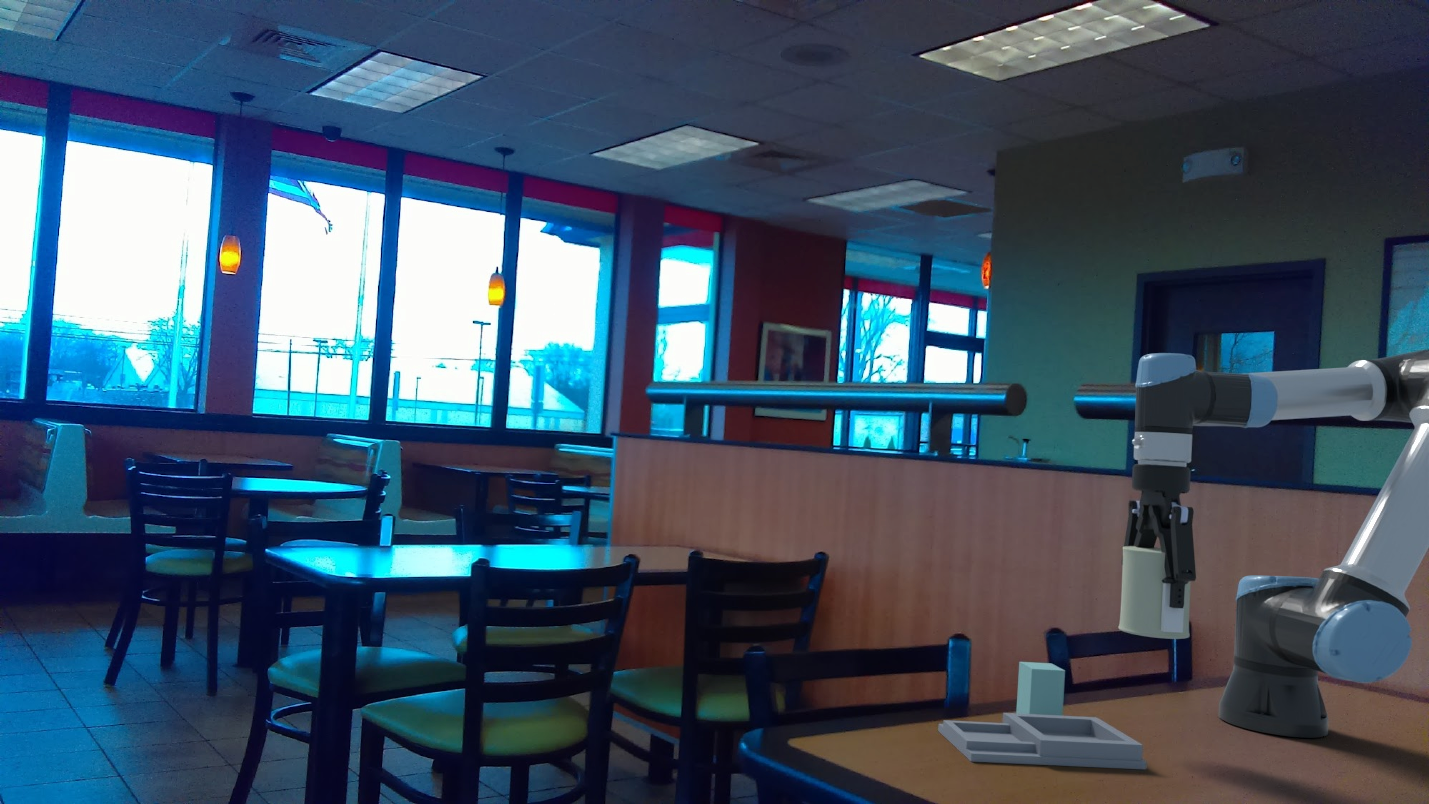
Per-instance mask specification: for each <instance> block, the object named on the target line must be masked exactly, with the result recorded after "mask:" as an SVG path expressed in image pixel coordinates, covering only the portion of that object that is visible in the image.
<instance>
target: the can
mask: <svg viewBox="0 0 1429 804" xmlns="http://www.w3.org/2000/svg"><path fill="white" fill-rule="evenodd" d="M1122 556H1123V566H1122V574H1121V596H1120V598H1121V599H1120V614H1119V624H1118V629H1119V631H1122V632H1123V633H1128V634H1131V635H1137V636H1142V637H1149V638H1157V639H1170V640H1173V639H1174V640H1180V639H1188V638H1190V637H1191V636H1190V635H1191V634H1190V604H1191V600H1190V599H1191V584H1192V583H1191V582H1192V581H1189V582H1188V584H1185V594H1184V615H1183V633H1180V632H1163V631H1161V615H1162V592H1163V582H1162V580H1163V579H1164V578H1165V577H1166V572H1165V567H1164V563H1165V553H1162V552H1161V547H1156V546H1154V548H1138V547H1135V546H1125V547H1124V546H1122ZM1187 572H1188V570H1187Z"/></svg>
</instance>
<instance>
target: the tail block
mask: <svg viewBox="0 0 1429 804" xmlns="http://www.w3.org/2000/svg"><path fill="white" fill-rule="evenodd" d="M1017 677H1018V678H1017V680H1018V681H1017V692H1016V693H1017V694H1016V695H1017V697H1016V698H1017V699H1016V709H1015V710H1016V711H1015V713H1019V714H1039V715H1059V716H1064V713H1063V711H1064V699H1065V697H1064V695H1065V694H1064V693H1065V681H1066V680H1065V678H1066V670H1065V669H1063V668H1061V667H1059V666H1057V665H1055V664H1053V663H1049V662H1032V661H1031V662H1030V661H1019V662H1018V676H1017Z"/></svg>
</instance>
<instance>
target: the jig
mask: <svg viewBox="0 0 1429 804" xmlns="http://www.w3.org/2000/svg"><path fill="white" fill-rule="evenodd" d="M942 721H943V723H938V725H937V726H938V727H937V730H938V731H937V732H939V734H941V735H942V736H943V737H944V738H945V739H946V740H947V741H949V743H950V744H952V745H953V746H954V747H955V748H956V749H957V750H958V752H960V753H961V754H962V755H963V756H964V757H966V758H967V759H968V760H969V762H975V763H996V764H997V763H999V764H1016V765H1017V764H1018V765H1019V764H1021V765H1037V766H1038V765H1039V766H1040V765H1043V766H1064V767H1065V766H1066V767H1087V768H1105V769H1106V768H1108V769H1124V770H1125V769H1129V770H1131V769H1132V770H1147V766H1148V765H1147V762H1148V761H1147V760H1145V759H1144V758H1143V752H1144V751H1143V749H1144V744H1142V743H1140V742H1139V741H1137V740H1135V739H1134V738H1132V737H1130V736H1128V735H1126V734H1125V733H1123V732H1122V731H1120V730H1118V729H1117V728H1115V727H1114V726H1112V725H1110V724H1108V723H1107V722H1105V721H1103V720H1102V719H1100V718H1098V717H1095V716H1094V717H1093V716H1077V715H1062V716H1059V715H1039V714H1019V713H1016V712H1015V713H1014V712H1013V713H1012V712H1002V722H987V721H986V722H984V721H969V720H968V721H967V720H947V719H944V720H942Z"/></svg>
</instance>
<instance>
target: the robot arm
mask: <svg viewBox="0 0 1429 804" xmlns="http://www.w3.org/2000/svg"><path fill="white" fill-rule="evenodd" d="M1196 365H1197V363H1196V359H1195V357H1194V356H1192V355H1191V354H1185V353H1175V352H1173V353H1171V352H1168V353H1167V352H1158V353H1149V354H1148V353H1147V354H1145V355H1143V356H1141V357H1140V359H1139V361H1138V365H1137V366H1138V367H1137V373H1136V380H1135V413H1134V414H1135V417H1134V438H1133V439H1132V440H1131V444H1132V445H1133V459H1134V460H1136V461H1137V463H1136V464H1134V465H1133V466H1132V476H1131V487H1132V489H1133V490H1135V491H1140V492H1141V495H1140V499H1139V500H1131V499H1130V500H1129V501H1128V506H1127V507H1128V518H1127V523H1126V530H1125V537H1124V545H1123V547H1125V546H1135V547H1138V548H1154V547H1156V546H1155V545H1156V542H1157V540H1158V541H1159V545H1160V548H1161V552H1162V553H1165V563H1164V567H1165V572H1166V577H1165V578H1164V579H1163V580H1162V582H1163V592H1162V615H1161V631H1163V632H1180V633H1183V615H1184V594H1185V584H1188V582H1189V581H1191V582H1195V581H1196V579H1197V571H1196V559H1195V545H1194V544H1195V543H1194V533H1193V531H1194V530H1193V529H1194V528H1193V523H1194V522H1193V521H1194V513H1195V512H1194V508H1193V507H1192V506H1182V502H1181V499H1180V498H1181V497H1180V495H1181V494H1188V493H1189V492H1190V490H1191V489H1190V488H1191V469H1190V467H1187V464H1189V463H1191V462H1192V447H1193V428H1194V427H1237V428H1238V427H1240V428H1242V429H1247V428H1263V427H1265V426H1266V425H1268V424H1269V423H1271V421H1279V420H1294V419H1310V418H1313V419H1314V418H1330V417H1342V416H1346V417H1347V416H1351V417H1353V418H1354V419H1356V420H1357V421H1363V422H1364V421H1366V422H1367V421H1368V422H1369V421H1387V422H1388V421H1389V422H1402V423H1412V424H1413V426H1414V429H1413V431H1412V433H1411V434H1410V437H1409V438H1408V440H1407V442H1406V443H1405V446H1404V447H1403V450H1402V451H1401V453H1400V455H1399V456H1398V458H1397V460H1396V462H1395V463H1394V466H1393V467H1392V470H1391V471H1390V473H1389V475H1388V477H1387V478H1386V480H1385V482H1384V484H1383V486H1382V487H1381V489H1380V491H1379V493H1378V495H1377V497H1376V499H1375V501H1374V503H1373V504H1372V506H1371V508H1370V509H1369V511H1368V513H1367V515H1366V517H1365V518H1364V521H1363V523H1362V524H1361V526H1360V528H1359V529H1358V532H1357V533H1356V535H1355V537H1354V539H1353V541H1352V543H1351V545H1350V546H1349V548H1348V550H1347V552H1346V553H1345V556H1344V557H1343V559H1342V561H1341V563H1340V564H1339V565H1336V566H1335V565H1334V566H1331V567H1326V568H1324V569H1323V571H1322V573H1321V575H1320V577H1319V578H1317V577H1307V576H1306V577H1305V576H1287V575H1285V576H1284V575H1283V576H1282V575H1246V576H1243V577H1242V578H1241V579H1240V580H1239V582H1238V586H1237V591H1236V592H1237V593H1236V597H1235V602H1236V607H1235V608H1236V610H1235V612H1236V613H1235V630H1234V632H1235V633H1234V649H1233V650H1234V651H1233V654H1234V655H1233V668H1232V671H1231V673H1230V677H1229V679H1228V681H1227V684H1226V685H1225V688H1224V690H1223V692H1222V693H1223V694H1222V696H1221V698H1220V699H1219V703H1218V718H1220V719H1221V720H1222V721H1225V722H1226V723H1228V724H1231V725H1233V726H1236V727H1239V728H1243V729H1246V730H1251V731H1256V732H1260V733H1263V734H1264V733H1265V734H1271V735H1276V736H1282V737H1292V738H1293V737H1294V738H1303V739H1304V738H1305V739H1306V738H1308V739H1311V738H1313V739H1314V738H1323V736H1324V737H1326V736H1328V735H1329V716H1328V713H1327V710H1326V706H1325V703H1324V699H1323V696H1322V695H1323V694H1322V692H1321V689H1320V685H1319V681H1318V679H1319V677H1318V674H1319V672H1320V673H1323V674H1326V675H1329V676H1330V677H1332V678H1335V679H1337V680H1341V681H1349V682H1355V683H1361V684H1370V683H1375V682H1379V681H1383V680H1385V679H1388V678H1389V677H1391V676H1393V675H1394V674H1396V672H1397V671H1398V670H1400V669H1401V668H1402V666H1403V665H1404V664H1405V662H1406V661H1407V659H1408V657H1409V656H1410V653H1411V649H1412V644H1413V638H1412V637H1411V636H1410V633H1411V632H1412V630H1411V629H1412V628H1411V625H1410V623H1409V621H1408V619H1407V616H1408V615H1409V612H1410V609H1411V607H1410V604H1409V603H1408V600H1407V597H1406V595H1405V594H1406V591H1407V589H1408V587H1409V585H1410V583H1411V581H1412V580H1413V578H1414V576H1415V574H1416V572H1417V570H1418V568H1419V567H1420V564H1421V562H1422V561H1423V558H1424V557H1425V555H1426V553H1427V551H1429V550H1428V549H1429V349H1428V348H1427V349H1421V350H1416V351H1410V352H1405V353H1400V354H1397V355H1396V354H1395V355H1391V356H1385V357H1381V358H1373V359H1361V360H1355V361H1354V362H1351V363H1350V364H1349V365H1348V366H1347V367H1334V368H1331V367H1330V368H1329V367H1328V368H1317V369H1315V368H1314V369H1300V370H1281V371H1265V372H1264V371H1263V372H1262V371H1261V372H1249V373H1232V372H1216V371H1215V372H1214V371H1203V370H1198V369H1197V366H1196ZM1121 565H1122V567H1123V555H1122V557H1121ZM1187 570H1188V572H1187Z"/></svg>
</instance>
